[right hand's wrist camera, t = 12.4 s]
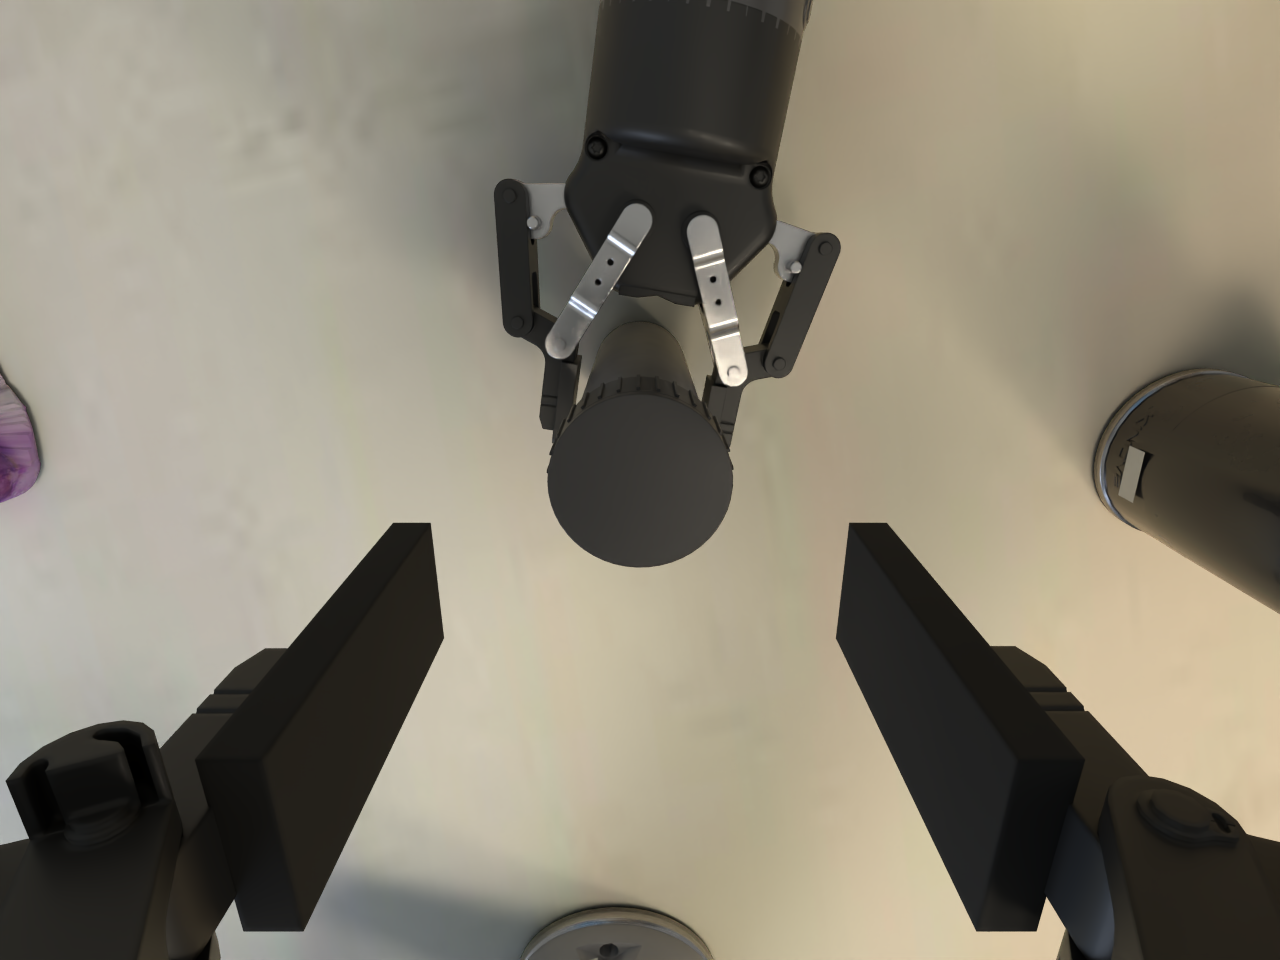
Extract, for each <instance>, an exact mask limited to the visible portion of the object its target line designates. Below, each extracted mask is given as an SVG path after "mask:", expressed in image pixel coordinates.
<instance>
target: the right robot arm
mask: <svg viewBox="0 0 1280 960" xmlns="http://www.w3.org/2000/svg"><path fill="white" fill-rule="evenodd" d="M443 639H444V634H443V625H442V617H441V608H440V599H439V591H438V582H437V574H436V565H435V556H434V548H433V539H432V531H431V523H393V524H392V525H391V526H390V527H389V529H388V530H387V531H386V532H385V533H384V535H383V536H382V537H381V538H380V539H379V540H378V542H377V543H376V544H375V545H374V546H373V548H372V549H371V550H370V551H369V552H368V554H367V555H366V556H365V557H364V558H363V560H362V561H361V562H360V563H359V564H358V565H357V567H356V568H355V569H354V570H353V571H352V573H351V574H350V575H349V576H348V577H347V579H346V580H345V581H344V582H343V583H342V585H341V586H340V587H339V588H338V589H337V591H336V592H335V593H334V594H333V595H332V596H331V598H330V599H329V600H328V601H327V602H326V604H325V605H324V606H323V607H322V608H321V610H320V611H319V612H318V613H317V614H316V616H315V617H314V618H313V619H312V620H311V621H310V623H309V624H308V625H307V626H306V627H305V629H304V630H303V631H302V632H301V633H300V635H299V636H298V637H297V638H296V639H295V641H294V642H293V643H292V644H291V645H290V647H289V648H265V649H264V650H262V651H260V652H259V653H257V654H256V655H254V656H252V657H251V658H249V659H248V660H246V661H245V662H243V663H241V664H240V665H238V666H237V667H235V668H234V669H233V670H232V671H231V672H230V673H229V674H228V676H227V677H226V678H225V679H224V680H223V681H222V682H221V683H220V684H219V685H218V686H217V687H216V689H215V690H214V694H210V695H209V696H208V697H207V698H206V699H205V700H204V702H203V703H202V704H201V705H200V706H199V707H198V708H197V712H196V714H192V715H191V716H190V717H189V718H188V719H187V720H186V721H185V722H184V723H183V724H182V725H181V726H180V728H179V729H178V730H177V731H176V732H175V733H174V734H173V735H172V736H171V737H170V738H169V739H168V741H167V742H166V743H165V744H164V745H163V746H162V747H161V748H160V749H159V746H158V743H157V739H156V736H155V733H154V730H152V729H151V728H150V727H148V726H147V725H145V724H144V723H141V722H133V721H124V720H123V721H116V722H109V723H102V724H97V725H94V726H90V727H87V728H84V729H81V730H78V731H75V732H72V733H69V734H67V735H65V736H63V737H61V738H59V739H57V740H55V741H53V742H51V743H49V744H47V745H45V746H43V747H42V748H41V749H39V750H38V751H36V752H35V753H34V754H32V755H31V756H30V757H28V758H27V759H25V760H24V761H23V762H21V763H20V764H19V765H18V767H17V768H16V769H15V770H14V771H13V773H12V774H11V775H10V776H9V777H8V779H7V780H6V783H7V786H8V788H9V791H10V793H11V795H12V798H13V800H14V803H15V805H16V808H17V810H18V812H19V815H20V817H21V820H22V822H23V825H24V827H25V830H26V832H27V834H28V837H29V839H25V840H20V841H16V842H12V843H8V844H3V845H0V960H220V958H221V957H220V950H219V944H218V939H217V936H216V933H215V930H216V928H217V926H218V925H219V923H220V921H221V920H222V918H223V917H224V915H225V913H226V912H227V910H228V908H229V907H230V905H231V903H232V902H233V900H235V903H236V907H237V910H238V914H239V917H240V921H241V924H242V928H243V931H304V929H305V927H306V925H307V923H308V921H309V919H310V917H311V915H312V913H313V911H314V909H315V906H316V904H317V902H318V900H319V898H320V896H321V894H322V892H323V890H324V888H325V886H326V884H327V881H328V879H329V877H330V875H331V873H332V871H333V869H334V867H335V865H336V863H337V861H338V858H339V856H340V854H341V852H342V850H343V848H344V846H345V844H346V842H347V840H348V838H349V835H350V833H351V831H352V829H353V827H354V825H355V823H356V821H357V819H358V817H359V815H360V813H361V810H362V808H363V806H364V804H365V802H366V800H367V798H368V796H369V794H370V792H371V790H372V787H373V785H374V783H375V781H376V779H377V777H378V775H379V773H380V771H381V769H382V767H383V764H384V762H385V760H386V758H387V756H388V754H389V752H390V750H391V748H392V746H393V744H394V742H395V739H396V737H397V735H398V733H399V731H400V729H401V727H402V725H403V723H404V721H405V719H406V716H407V714H408V712H409V710H410V708H411V706H412V704H413V702H414V700H415V698H416V696H417V694H418V691H419V689H420V687H421V685H422V683H423V681H424V679H425V677H426V675H427V673H428V671H429V668H430V666H431V664H432V662H433V660H434V658H435V656H436V654H437V652H438V650H439V648H440V645H441V643H442V641H443ZM836 639H837V641H838V643H839V645H840V648H841V650H842V652H843V654H844V656H845V658H846V660H847V662H848V664H849V666H850V668H851V671H852V673H853V675H854V677H855V679H856V681H857V683H858V685H859V687H860V689H861V691H862V693H863V696H864V698H865V700H866V702H867V704H868V706H869V708H870V710H871V712H872V714H873V716H874V719H875V721H876V723H877V725H878V727H879V729H880V731H881V733H882V735H883V737H884V739H885V742H886V744H887V746H888V748H889V750H890V752H891V754H892V756H893V758H894V760H895V762H896V764H897V767H898V769H899V771H900V773H901V775H902V777H903V779H904V781H905V783H906V785H907V787H908V790H909V792H910V794H911V796H912V798H913V800H914V802H915V804H916V806H917V808H918V810H919V813H920V815H921V817H922V819H923V821H924V823H925V825H926V827H927V829H928V831H929V833H930V835H931V838H932V840H933V842H934V844H935V846H936V848H937V850H938V852H939V854H940V856H941V858H942V861H943V863H944V865H945V867H946V869H947V871H948V873H949V875H950V877H951V879H952V881H953V883H954V886H955V888H956V890H957V892H958V894H959V896H960V898H961V900H962V902H963V904H964V906H965V909H966V911H967V913H968V915H969V917H970V919H971V921H972V923H973V925H974V927H975V929H976V931H1037V928H1038V924H1039V921H1040V917H1041V914H1042V910H1043V907H1044V903H1045V900H1046V896H1047V898H1048V900H1049V901H1050V903H1051V905H1052V906H1053V908H1054V910H1055V911H1056V913H1057V915H1058V916H1059V918H1060V919H1061V921H1062V923H1063V924H1064V926H1065V928H1066V930H1065V933H1064V936H1063V939H1062V943H1061V946H1060V949H1059V952H1058V956H1057V959H1056V960H1280V842H1277V841H1273V840H1268V839H1264V838H1260V837H1256V836H1252V835H1248V834H1246V833H1245V831H1244V830H1243V828H1242V827H1241V826H1240V824H1239V823H1238V821H1237V820H1236V819H1234V818H1233V817H1232V816H1231V815H1230V814H1228V813H1227V812H1226V811H1225V810H1224V809H1222V808H1221V807H1220V806H1219V805H1218V804H1216V803H1215V802H1213V801H1211V800H1210V799H1208V798H1206V797H1204V796H1203V795H1201V794H1199V793H1197V792H1195V791H1194V790H1192V789H1190V788H1188V787H1185V786H1182V785H1179V784H1177V783H1174V782H1171V781H1168V780H1166V779H1162V778H1156V777H1150V776H1148V775H1147V774H1146V773H1145V772H1144V771H1143V769H1142V768H1141V767H1140V766H1139V765H1138V764H1137V763H1136V762H1135V761H1134V760H1133V759H1132V758H1131V757H1130V756H1129V754H1128V753H1127V752H1126V751H1125V750H1124V749H1123V748H1122V747H1121V746H1120V745H1119V744H1118V743H1117V742H1116V740H1115V739H1114V738H1113V737H1112V736H1111V735H1110V734H1109V733H1108V732H1107V731H1106V730H1105V729H1104V728H1103V726H1102V725H1101V724H1100V723H1099V722H1098V721H1097V720H1096V719H1095V718H1094V717H1093V716H1092V715H1091V714H1090V712H1089V711H1084V706H1083V705H1082V704H1081V703H1080V702H1079V701H1078V700H1077V698H1076V697H1075V696H1074V695H1073V694H1072V693H1071V692H1067V690H1066V687H1065V686H1064V685H1063V683H1062V682H1061V681H1060V680H1059V679H1058V678H1057V677H1056V676H1055V675H1054V674H1053V673H1052V672H1051V671H1050V669H1049V668H1048V667H1047V666H1046V665H1044V664H1043V663H1041V662H1040V661H1038V660H1036V659H1035V658H1033V657H1032V656H1030V655H1028V654H1027V653H1025V652H1024V651H1022V650H1020V649H1019V648H1017V647H1016V646H990V645H989V644H988V643H987V642H986V641H985V639H984V638H983V637H982V636H981V635H980V633H979V632H978V631H977V630H976V629H975V627H974V626H973V625H972V624H971V623H970V621H969V620H968V619H967V618H966V617H965V616H964V614H963V613H962V612H961V611H960V610H959V608H958V607H957V606H956V605H955V604H954V602H953V601H952V600H951V599H950V598H949V596H948V595H947V594H946V593H945V592H944V591H943V589H942V588H941V587H940V586H939V585H938V583H937V582H936V581H935V580H934V579H933V577H932V576H931V575H930V574H929V573H928V571H927V570H926V569H925V568H924V567H923V565H922V564H921V563H920V562H919V561H918V560H917V558H916V557H915V556H914V555H913V554H912V552H911V551H910V550H909V549H908V548H907V546H906V545H905V544H904V543H903V542H902V540H901V539H900V538H899V537H898V536H897V535H896V533H895V532H894V531H893V530H892V529H891V527H890V526H889V525H888V524H887V523H849V531H848V539H847V548H846V556H845V565H844V574H843V582H842V591H841V599H840V608H839V617H838V625H837V634H836ZM520 960H713V958H712V956H711V954H710V952H709V950H708V948H707V947H706V946H705V944H704V943H703V942H702V941H701V939H700V938H699V937H698V936H697V935H696V934H694V933H693V932H692V931H691V930H689V929H688V928H687V927H685V926H684V925H682V924H680V923H679V922H677V921H675V920H673V919H671V918H668V917H666V916H663V915H661V914H657V913H654V912H651V911H646V910H641V909H635V908H624V907H607V908H597V909H590V910H586V911H581V912H578V913H574V914H571V915H569V916H566V917H564V918H561V919H559V920H557V921H555V922H553V923H552V924H550V925H549V926H547V927H546V928H544V929H543V930H542V931H540V932H539V933H538V934H537V935H536V936H535V937H534V938H533V939H532V940H531V941H530V943H529V944H528V945H527V947H526V948H525V950H524V952H523V954H522V956H521V959H520Z"/></svg>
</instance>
